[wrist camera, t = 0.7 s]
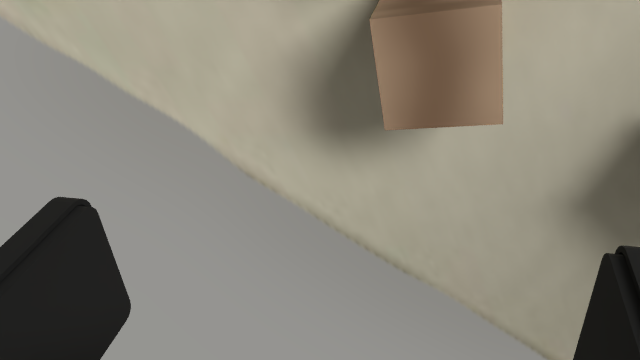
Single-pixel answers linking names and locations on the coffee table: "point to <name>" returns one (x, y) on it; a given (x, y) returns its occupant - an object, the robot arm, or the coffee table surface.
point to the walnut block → (438, 62)
